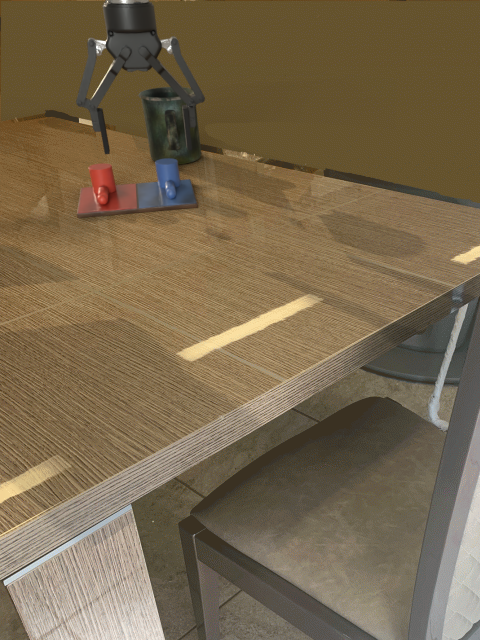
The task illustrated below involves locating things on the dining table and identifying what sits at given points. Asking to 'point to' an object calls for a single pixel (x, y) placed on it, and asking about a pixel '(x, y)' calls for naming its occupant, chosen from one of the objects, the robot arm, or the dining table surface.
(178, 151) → the mug
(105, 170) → the red cylinder with knob
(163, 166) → the blue knobbed cylinder
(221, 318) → the dining table surface
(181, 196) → the sorting board
